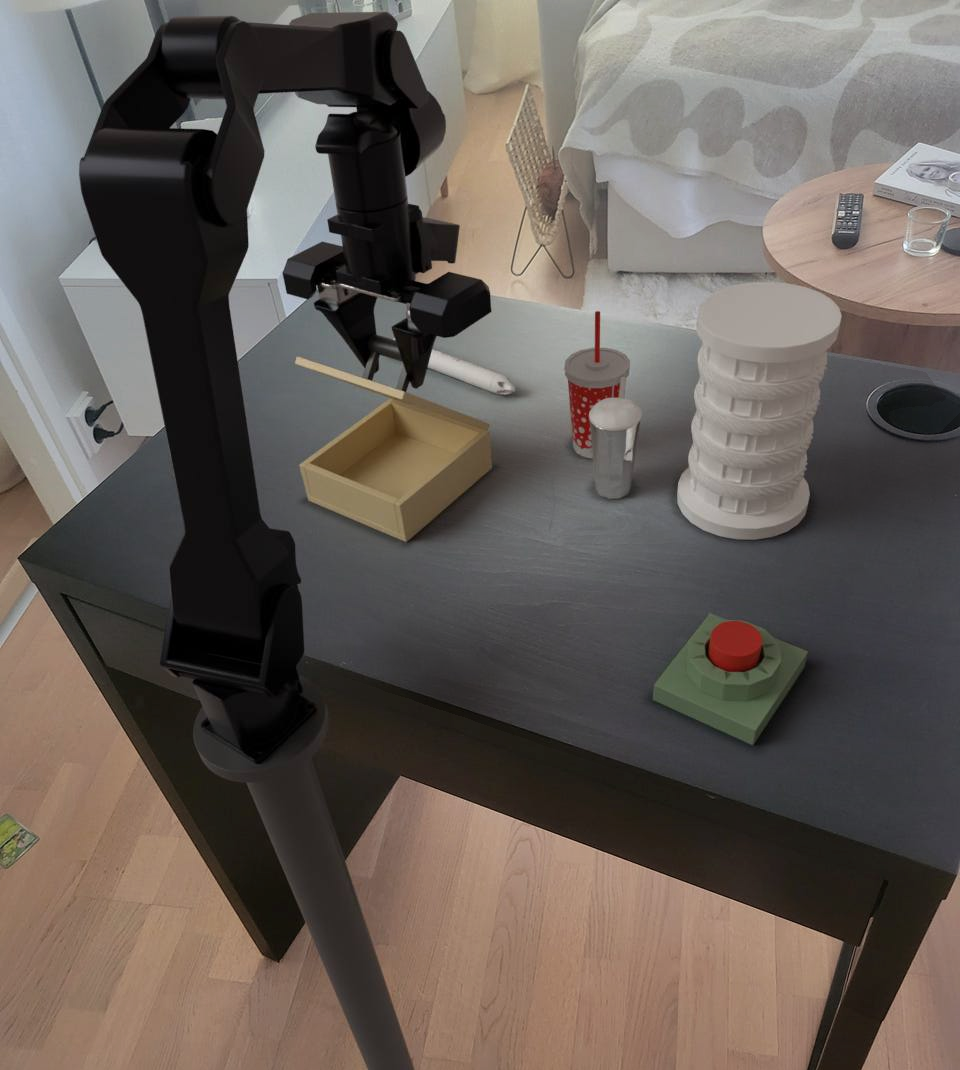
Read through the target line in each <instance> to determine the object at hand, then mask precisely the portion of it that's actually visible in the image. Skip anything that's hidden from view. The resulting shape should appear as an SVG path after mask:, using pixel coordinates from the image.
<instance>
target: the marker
mask: <svg viewBox="0 0 960 1070" xmlns="http://www.w3.org/2000/svg"><path fill="white" fill-rule="evenodd" d="M392 339H393V340H395V337H394V338H392ZM427 369H430V370H433V371H436V372H438V373H441V374H444V375H446V376H449V377H451V378H454V379H457V380H459V381H461V382H464V383H466V384H469V385H472V386H475V387H477V388H480V389H482V390H484V391H488V392H489V393H493V394H496V395H502V396H503V395H510V394H513V393H515V391H516V387H515V385H514V384H513V382H512V381H511V380H510V379H509V378H508V377H506V375H503V374H500V373H498V372H495V371H493V370H490V369H487V368H485V367H482V366H479V365H476V364H475V363H471V362H470V361H466V360H463V359H461V358H459V357H458V358H457V357H455V356H452V355H449V354H447V353H444V352H442V351H440V350H436V349H434V348H432V352H431V356H430V360H429V364H428V367H427Z"/></svg>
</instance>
